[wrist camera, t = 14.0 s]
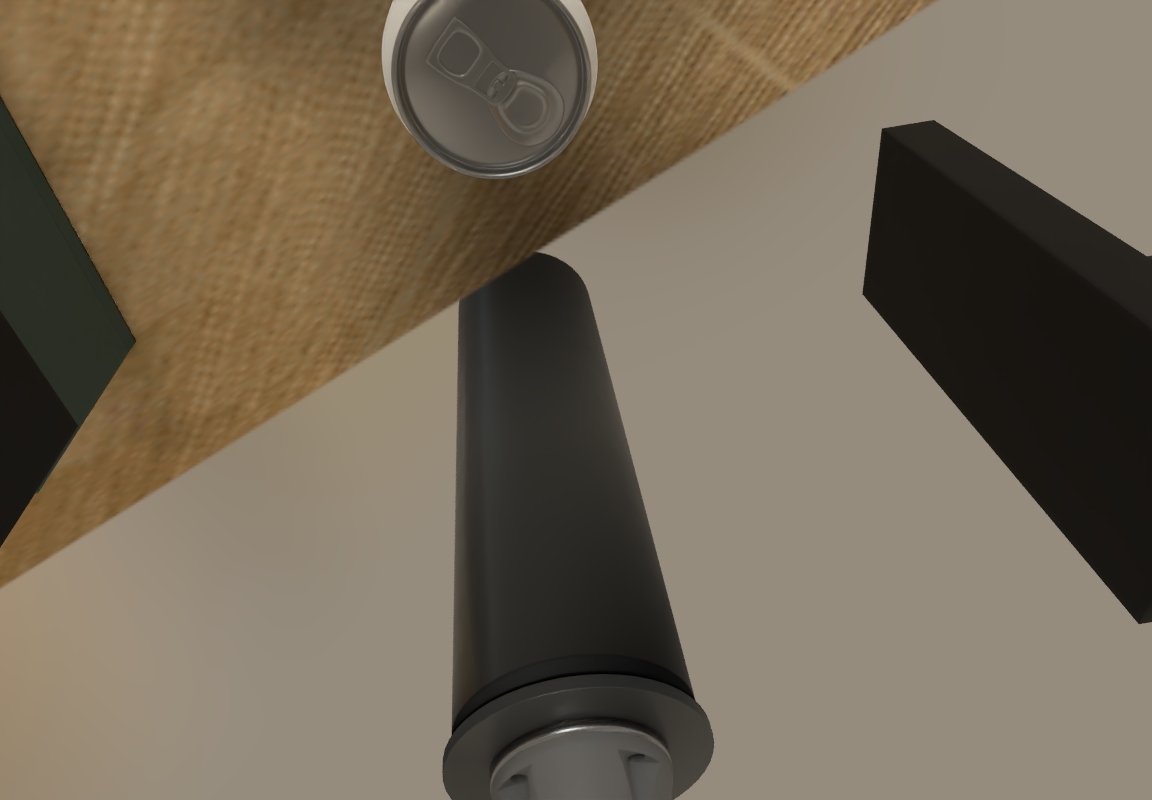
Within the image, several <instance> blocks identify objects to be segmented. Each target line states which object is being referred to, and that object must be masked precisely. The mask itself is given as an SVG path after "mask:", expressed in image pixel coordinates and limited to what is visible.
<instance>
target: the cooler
mask: <svg viewBox="0 0 1152 800" xmlns="http://www.w3.org/2000/svg"><path fill="white" fill-rule="evenodd" d="M0 311H1V312H2V314H3V315H4V317H5V318H6V320H7V321H8V323H9V324H10V326H11V327H12V329H13V330H14V331H15V333H16V334H17V336H18V337H19V339H20V340H21V342H22V343H23V345H24V346H25V348H26V349H27V351H28V352H29V354H30V355H31V357H32V358H33V360H34V361H35V363H36V364H37V366H38V367H39V368H40V370H41V371H42V373H43V374H44V376H45V377H46V379H47V380H48V382H49V383H50V385H51V386H52V388H53V389H54V391H55V392H56V394H57V395H58V397H59V398H60V400H61V401H62V402H63V404H64V405H65V407H66V408H67V410H68V411H69V413H70V414H71V416H72V417H73V419H74V420H75V422H76V423H77V425H78V427H77V429H76V430H75V432H74V433H73V435H72V437H71V438H70V440H69V441H68V443H67V444H66V446H65V447H64V449H63V451H62V452H61V454H60V455H59V457H58V458H57V460H56V461H55V463H54V465H53V466H52V468H51V469H50V471H49V472H48V474H47V476H46V477H45V479H44V480H43V482H42V483H41V485H40V486H39V488H38V490H37V491H36V493H38V492H39V491H40V489H41V488H42V486H43V484H44V483H45V481H46V480H47V478H48V477H49V475H50V474H51V472H52V471H53V469H54V467H55V466H56V464H57V463H58V461H59V460H60V458H61V457H62V455H63V453H64V452H65V450H66V449H67V447H68V446H69V444H70V443H71V441H72V439H73V438H74V436H75V435H76V433H77V432H78V430H79V429H80V427H81V425H82V424H83V422H84V421H85V419H86V418H87V416H88V415H89V413H90V412H91V410H92V408H93V407H94V405H95V404H96V402H97V401H98V399H99V398H100V396H101V394H102V393H103V391H104V390H105V388H106V387H107V385H108V384H109V382H110V380H111V379H112V377H113V376H114V374H115V373H116V371H117V370H118V368H119V366H120V365H121V363H122V362H123V360H124V359H125V357H126V356H127V354H128V352H129V351H130V349H131V348H132V346H133V345H134V343H135V340H134V338H133V336H132V334H131V332H130V331H129V329H128V327H127V325H126V323H125V322H124V320H123V318H122V316H121V314H120V313H119V311H118V309H117V307H116V305H115V304H114V302H113V300H112V298H111V296H110V295H109V293H108V291H107V289H106V287H105V286H104V284H103V282H102V280H101V278H100V277H99V275H98V273H97V271H96V269H95V268H94V266H93V264H92V262H91V260H90V259H89V257H88V255H87V253H86V251H85V250H84V248H83V246H82V244H81V242H80V241H79V239H78V237H77V235H76V233H75V232H74V230H73V228H72V226H71V224H70V223H69V221H68V219H67V217H66V215H65V214H64V212H63V210H62V208H61V206H60V205H59V203H58V201H57V199H56V197H55V196H54V194H53V192H52V190H51V188H50V187H49V185H48V183H47V181H46V179H45V178H44V176H43V174H42V172H41V170H40V169H39V167H38V165H37V163H36V161H35V160H34V158H33V156H32V154H31V152H30V151H29V149H28V147H27V145H26V143H25V142H24V140H23V138H22V136H21V134H20V133H19V131H18V129H17V127H16V125H15V124H14V122H13V120H12V118H11V116H10V115H9V113H8V111H7V109H6V107H5V106H4V104H3V102H2V100H1V98H0ZM36 493H35V494H36Z"/></svg>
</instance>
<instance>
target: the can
mask: <svg viewBox="0 0 1152 800" xmlns="http://www.w3.org/2000/svg"><path fill="white" fill-rule="evenodd" d="M382 67H383V75H384V80H385V85H386V88H387V92H388V95H389V98H390V100H391V103H392V105H393V107H394V109H395V111H396V113H397V115H398V117H399V118H400V120H401V122H402V123H403V125H404V126H405V127H406V129H407V130H408V131H409V133H410V134H411V135H412V136H413V137H414V139H415V140H416V141H417V142H418V144H419V145H420V146H421V147H422V148H423V149H424V150H425V151H426V152H427V153H428V154H430V155H431V156H432V157H433V158H435V159H436V160H437V161H439V162H440V163H442V164H443V165H445V166H447V167H448V168H450V169H452V170H455V171H457V172H459V173H462V174H465V175H468V176H472V177H477V178H483V179H507V178H513V177H518V176H522V175H525V174H528V173H530V172H533V171H535V170H537V169H539V168H541V167H542V166H544V165H546V164H547V163H549V162H550V161H552V160H553V159H554V158H555V157H557V156H558V155H559V154H560V153H561V152H562V151H563V150H564V149H565V148H566V147H567V145H568V144H569V143H570V142H571V140H572V139H573V138H574V136H575V134H576V133H577V131H578V129H579V128H580V126H581V124H582V122H583V120H584V118H585V116H586V114H587V112H588V110H589V107H590V105H591V102H592V99H593V95H594V91H595V87H596V80H597V69H598V60H597V48H596V41H595V36H594V32H593V28H592V25H591V22H590V19H589V17H588V14H587V12H586V10H585V8H584V6H583V4H582V2H581V0H393V2H392V4H391V7H390V10H389V13H388V16H387V19H386V23H385V28H384V33H383V40H382Z"/></svg>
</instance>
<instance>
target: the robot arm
mask: <svg viewBox="0 0 1152 800" xmlns="http://www.w3.org/2000/svg"><path fill="white" fill-rule="evenodd" d="M863 295H864V296H865V298H866V299H867V300H868V301H869V302H870V303H871V305H872V306H873V307H874V308H875V309H876V310H877V312H878V313H879V314H880V315H881V317H882V318H883V319H884V320H885V321H886V323H887V324H888V325H889V326H890V327H891V329H892V330H893V331H894V332H895V333H896V334H897V336H898V337H899V338H900V339H901V341H902V342H903V343H904V344H905V345H906V346H907V348H908V349H909V350H910V351H911V352H912V354H913V355H914V356H915V357H916V358H917V360H918V361H919V362H920V363H921V364H922V365H923V367H924V368H925V369H926V370H927V372H928V373H929V374H930V375H931V376H932V378H933V379H934V380H935V381H936V382H937V384H938V385H939V386H940V387H941V388H942V389H943V390H944V392H945V393H946V394H947V395H948V397H949V398H950V399H951V400H952V401H953V403H954V404H955V405H956V406H957V407H958V409H959V410H960V411H961V412H962V413H963V415H964V416H965V417H966V418H967V419H968V421H970V423H971V424H972V425H973V426H974V428H975V429H976V430H977V431H978V432H979V433H980V435H981V436H982V437H983V438H984V440H985V441H986V442H987V443H988V444H989V446H990V447H991V448H992V449H993V450H994V452H995V453H996V454H997V455H998V456H999V458H1000V459H1001V460H1002V461H1003V462H1004V464H1005V465H1006V466H1007V467H1008V468H1009V470H1010V471H1011V472H1012V473H1013V474H1014V476H1015V477H1016V478H1017V479H1018V480H1019V481H1020V483H1021V484H1022V485H1023V486H1024V487H1025V489H1026V490H1027V491H1028V492H1029V493H1030V495H1031V496H1032V497H1033V498H1034V499H1035V501H1036V502H1037V503H1038V504H1039V505H1040V507H1042V509H1043V510H1044V511H1045V513H1046V514H1048V516H1049V517H1050V519H1051V520H1052V521H1053V522H1054V523H1055V525H1056V526H1057V527H1058V528H1059V529H1060V530H1061V532H1062V533H1063V534H1064V535H1065V536H1066V538H1067V539H1068V540H1069V541H1070V542H1071V544H1072V545H1073V546H1074V547H1075V548H1076V550H1077V551H1078V552H1079V553H1080V554H1081V556H1082V557H1083V558H1084V559H1085V560H1086V562H1087V563H1088V564H1089V565H1090V566H1091V568H1092V569H1093V570H1094V571H1095V572H1096V573H1097V575H1098V576H1099V577H1100V578H1101V579H1102V581H1103V582H1104V583H1105V584H1106V585H1107V587H1108V588H1109V589H1110V590H1111V591H1112V593H1113V594H1114V595H1115V596H1116V597H1117V599H1118V600H1119V601H1120V602H1121V603H1122V605H1123V606H1124V607H1125V608H1126V609H1127V610H1128V612H1129V613H1130V614H1131V615H1132V616H1133V618H1134V619H1135V620H1136V621H1137V622H1138V624H1142V623H1148V622H1152V256H1145V255H1144V254H1142V253H1141V252H1139V251H1137V250H1136V249H1134V248H1133V247H1131V246H1130V245H1128V244H1127V243H1125V242H1123V241H1122V240H1120V239H1119V238H1117V237H1116V236H1114V235H1112V234H1111V233H1109V232H1108V231H1106V230H1105V229H1103V228H1101V227H1100V226H1098V225H1097V224H1095V223H1094V222H1092V221H1091V220H1089V219H1087V218H1086V217H1084V216H1083V215H1081V214H1080V213H1078V212H1076V211H1075V210H1073V209H1071V208H1070V207H1069V206H1067V205H1066V204H1064V203H1062V202H1061V201H1059V200H1058V199H1056V198H1055V197H1053V196H1052V195H1050V194H1048V193H1047V192H1045V191H1044V190H1042V189H1041V188H1039V187H1037V186H1036V185H1034V184H1033V183H1031V182H1030V181H1028V180H1027V179H1025V178H1023V177H1022V176H1020V175H1018V174H1017V173H1016V172H1014V171H1012V170H1011V169H1009V168H1008V167H1006V166H1005V165H1003V164H1001V163H1000V162H998V161H997V160H995V159H994V158H992V157H991V156H989V155H987V154H986V153H984V152H983V151H981V150H979V149H978V148H977V147H975V146H973V145H972V144H970V143H969V142H967V141H965V140H964V139H962V138H961V137H959V136H958V135H956V134H955V133H953V132H952V131H950V130H948V129H947V128H945V127H944V126H942V125H941V124H939V123H937V122H936V121H934V120H932V121H926V122H919V123H914V124H907V125H902V126H895V127H889V128H883V129H882V133H881V143H880V150H879V158H878V167H877V175H876V184H875V192H874V201H873V209H872V218H871V226H870V235H869V243H868V252H867V260H866V269H865V278H864V286H863ZM77 427H78V425H77V423H76V422H75V420H74V419H73V417H72V416H71V414H70V413H69V411H68V410H67V408H66V407H65V405H64V404H63V402H62V401H61V400H60V398H59V397H58V395H57V394H56V392H55V391H54V389H53V388H52V386H51V385H50V383H49V382H48V380H47V379H46V377H45V376H44V374H43V373H42V371H41V370H40V368H39V367H38V366H37V364H36V363H35V361H34V360H33V358H32V357H31V355H30V354H29V352H28V351H27V349H26V348H25V346H24V345H23V343H22V342H21V340H20V339H19V337H18V336H17V334H16V333H15V331H14V330H13V329H12V327H11V326H10V324H9V323H8V321H7V320H6V318H5V317H4V315H3V314H2V312H1V311H0V547H1V546H2V544H3V542H4V541H5V539H6V538H7V536H8V535H9V533H10V532H11V530H12V528H13V527H14V525H15V524H16V522H17V521H18V519H19V518H20V516H21V514H22V513H23V511H24V510H25V508H26V507H27V505H28V504H29V502H30V500H31V499H32V497H33V496H34V494H35V493H36V491H37V490H38V488H39V486H40V485H41V483H42V482H43V480H44V479H45V477H46V476H47V474H48V472H49V471H50V469H51V468H52V466H53V465H54V463H55V461H56V460H57V458H58V457H59V455H60V454H61V452H62V451H63V449H64V447H65V446H66V444H67V443H68V441H69V440H70V438H71V437H72V435H73V433H74V432H75V430H76V429H77ZM672 789H673V770H672V761H671V757H670V752H669V748H668V745H667V743H666V741H665V740H664V738H663V737H662V736H661V735H660V734H659V733H658V732H656V731H655V730H653V729H652V728H650V727H648V726H646V725H644V724H641V723H638V722H635V721H632V720H627V719H622V718H615V717H581V718H573V719H567V720H562V721H558V722H554V723H551V724H547V725H544V726H541V727H539V728H536V729H534V730H532V731H529V732H527V733H525V734H523V735H522V736H520V737H518V738H517V739H515V740H513V741H512V742H511V743H509V744H508V745H507V746H506V747H505V748H504V749H502V750H501V752H500V753H499V754H498V755H497V756H496V758H495V759H494V761H493V763H492V766H491V769H490V793H491V799H492V800H671V799H672Z"/></svg>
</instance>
